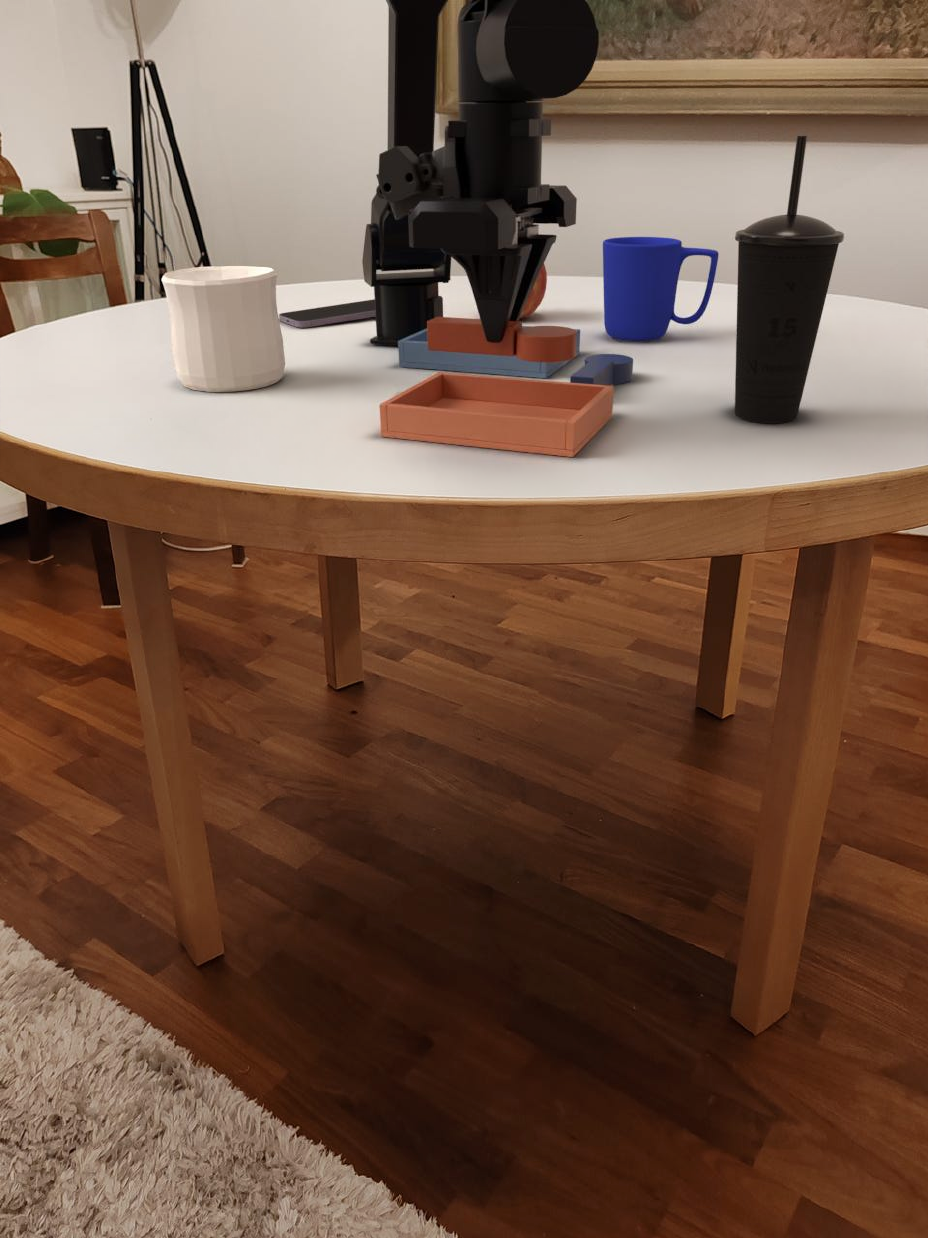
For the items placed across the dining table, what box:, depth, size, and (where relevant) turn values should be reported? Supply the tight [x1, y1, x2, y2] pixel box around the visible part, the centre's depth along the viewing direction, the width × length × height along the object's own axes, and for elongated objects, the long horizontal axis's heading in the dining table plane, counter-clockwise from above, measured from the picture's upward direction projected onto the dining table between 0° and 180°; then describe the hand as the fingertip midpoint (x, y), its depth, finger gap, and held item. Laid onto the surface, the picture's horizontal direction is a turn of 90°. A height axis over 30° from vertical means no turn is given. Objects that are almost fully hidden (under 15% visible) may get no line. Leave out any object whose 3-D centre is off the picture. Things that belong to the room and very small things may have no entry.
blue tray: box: [397, 325, 581, 379], centre depth 95 cm, size 15×11×2 cm
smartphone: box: [278, 298, 376, 329], centre depth 118 cm, size 7×1×15 cm
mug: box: [602, 236, 719, 343], centre depth 102 cm, size 8×12×10 cm
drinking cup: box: [734, 135, 845, 424], centre depth 72 cm, size 8×8×20 cm
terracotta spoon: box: [427, 316, 577, 362], centre depth 71 cm, size 11×4×2 cm, turn 68°
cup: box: [160, 265, 286, 393], centre depth 87 cm, size 10×10×10 cm
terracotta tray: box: [379, 371, 615, 458], centre depth 74 cm, size 15×11×2 cm
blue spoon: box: [569, 353, 634, 386], centre depth 85 cm, size 11×4×2 cm, turn 158°
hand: (499, 339), depth 71 cm, fingers closed on terracotta spoon, 2 cm apart
